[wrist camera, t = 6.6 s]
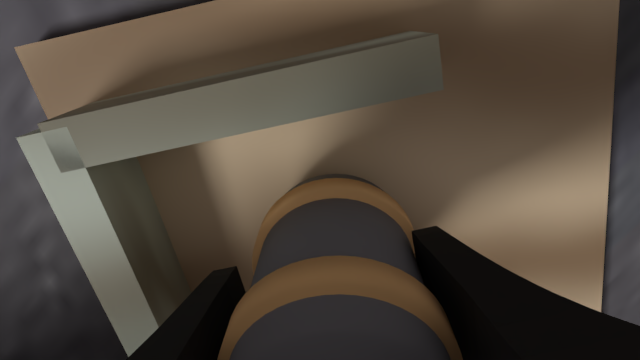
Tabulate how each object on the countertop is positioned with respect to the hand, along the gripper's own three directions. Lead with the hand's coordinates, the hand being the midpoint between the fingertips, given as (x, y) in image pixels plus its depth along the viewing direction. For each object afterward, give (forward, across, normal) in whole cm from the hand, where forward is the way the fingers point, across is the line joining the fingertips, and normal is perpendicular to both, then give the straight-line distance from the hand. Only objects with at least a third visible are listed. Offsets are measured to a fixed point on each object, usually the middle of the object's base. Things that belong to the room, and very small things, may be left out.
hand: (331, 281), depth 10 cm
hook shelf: (+4, -1, +2) cm, 4 cm away
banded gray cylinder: (+2, 0, 0) cm, 2 cm away
